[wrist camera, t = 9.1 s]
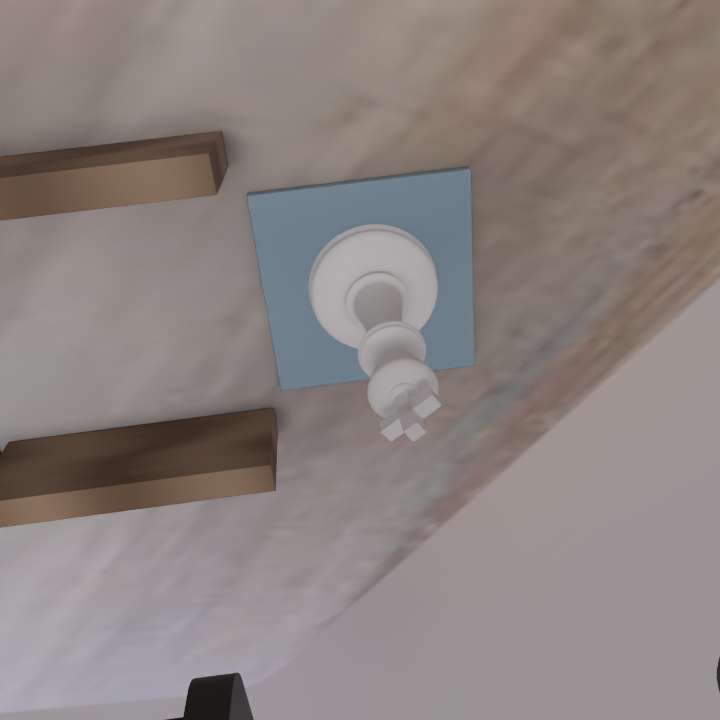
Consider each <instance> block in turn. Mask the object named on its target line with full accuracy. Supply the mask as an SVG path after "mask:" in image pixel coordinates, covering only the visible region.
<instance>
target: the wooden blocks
mask: <svg viewBox="0 0 720 720" xmlns="http://www.w3.org/2000/svg"><path fill="white" fill-rule="evenodd" d="M227 168H228V163H227V158H226V153H225V147H224V142H223V137H222V131H218V132H209V133H201V134H192V135H184V136H175V137H166V138H158V139H149V140H141V141H132V142H124V143H115V144H107V145H98V146H89V147H81V148H72V149H64V150H55V151H47V152H38V153H30V154H21V155H13V156H4V157H0V221H1V220H9V219H18V218H26V217H34V216H43V215H51V214H59V213H68V212H76V211H84V210H93V209H101V208H109V207H118V206H126V205H134V204H143V203H151V202H159V201H168V200H176V199H184V198H193V197H201V196H209V195H217V193H218V190H219V188H220V185H221V183H222V180H223V178H224V175H225V173H226V171H227ZM277 436H278V431H277V425H276V420H275V415H274V409H273V408H268V409H260V410H253V411H245V412H237V413H230V414H222V415H214V416H207V417H199V418H191V419H184V420H176V421H168V422H161V423H153V424H145V425H138V426H130V427H122V428H115V429H107V430H99V431H92V432H84V433H76V434H69V435H61V436H53V437H46V438H38V439H30V440H23V441H15V442H9V443H8V444H7V446H6V448H5V449H4V451H3V452H2V454H1V455H0V528H1V527H8V526H16V525H23V524H31V523H38V522H46V521H53V520H61V519H68V518H75V517H83V516H90V515H98V514H105V513H113V512H120V511H128V510H135V509H142V508H150V507H157V506H165V505H172V504H180V503H187V502H195V501H202V500H209V499H217V498H224V497H232V496H239V495H247V494H254V493H262V492H269V491H276V464H277Z"/></svg>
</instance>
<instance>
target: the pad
mask: <svg viewBox="0 0 720 720" xmlns="http://www.w3.org/2000/svg"><path fill="white" fill-rule="evenodd" d="M247 201H248V206H249V212H250V218H251V223H252V229H253V234H254V240H255V246H256V251H257V257H258V262H259V268H260V274H261V279H262V285H263V291H264V296H265V302H266V307H267V313H268V319H269V324H270V330H271V336H272V341H273V347H274V352H275V358H276V364H277V369H278V375H279V381H280V386H281V391H282V390H290V389H298V388H306V387H313V386H321V385H329V384H336V383H344V382H352V381H360V380H367V379H370V377H369V376H368V375H367V374H366V373H365V372H364V371H363V369H362V368H361V366H360V364H359V361H358V349H357V348H353V347H350V346H347V345H345V344H343V343H341V342H339V341H337V340H336V339H334V338H333V337H332V336H331V335H329V334H328V333H327V332H326V331H325V329H324V328H323V327H322V326H321V324H320V323H319V321H318V319H317V318H316V315H315V313H314V311H313V309H312V306H311V303H310V299H309V292H308V282H309V276H310V271H311V268H312V265H313V263H314V261H315V259H316V257H317V256H318V254H319V253H320V251H321V250H322V249H323V247H324V246H325V245H326V244H327V243H328V242H329V241H331V240H332V239H333V238H334V237H336V236H337V235H339V234H340V233H342V232H344V231H346V230H348V229H351V228H354V227H357V226H361V225H367V224H384V225H390V226H394V227H397V228H400V229H402V230H404V231H406V232H408V233H410V234H411V235H413V236H414V237H415V238H417V239H418V240H419V241H420V242H421V243H422V244H423V245H424V246H425V248H426V249H427V251H428V252H429V254H430V256H431V257H432V260H433V262H434V265H435V268H436V273H437V281H438V294H437V300H436V304H435V307H434V310H433V312H432V314H431V316H430V318H429V319H428V321H427V322H426V324H425V325H424V326H423V327H422V328H421V330H419V332H420V333H421V334H422V336H423V338H424V340H425V344H426V356H425V360H424V362H425V363H426V364H427V365H428V366H429V367H430V368H431V369H432V370H433V371H437V370H445V369H452V368H460V367H468V366H475V351H474V303H473V255H472V207H471V169H470V168H469V167H462V168H453V169H445V170H437V171H429V172H420V173H412V174H404V175H395V176H387V177H379V178H370V179H362V180H354V181H345V182H337V183H329V184H320V185H312V186H304V187H295V188H287V189H279V190H270V191H262V192H254V193H247Z"/></svg>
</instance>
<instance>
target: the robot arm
mask: <svg viewBox="0 0 720 720" xmlns="http://www.w3.org/2000/svg"><path fill="white" fill-rule="evenodd" d="M717 682H718V686H719V691H720V658H719V662H718V667H717ZM167 720H253V716H252V713H251V709H250V706H249V702H248V699H247V695H246V692H245V688H244V685H243V682H242V678H241V676H240V674H239V673H232V674H225V675H217V676H209V677H202V678H194V679H193V680H192V681H191V683H190V686H189V689H188V694H187V700H186V706H185V712H184V717H183V718H175V719H167Z"/></svg>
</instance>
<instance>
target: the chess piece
mask: <svg viewBox="0 0 720 720" xmlns="http://www.w3.org/2000/svg"><path fill="white" fill-rule="evenodd" d="M308 292H309V299H310V303H311V306H312V309H313V311H314V313H315V315H316V318H317V319H318V321H319V323H320V324H321V326H322V327H323V328H324V329H325V331H326V332H327V333H328V334H329V335H331V336H332V337H333V338H334V339H336V340H337V341H339V342H341V343H343V344H345V345H347V346H350V347H353V348H357V349H358V361H359V364H360V366H361V368H362V369H363V371H364V372H365V373H366V374H367V375H368V376H369V377H370V379H369V382H368V387H367V397H368V401H369V404H370V406H371V407H372V409H373V410H374V411H375V412H376V413H377V414H378V415H379V416H380V417H382V418H384V419H383V420H382V421H380V422H379V427H380V432H381V433H382V434H383V435H384V436H385V437H386V438H387V439H388V440H389V441H390V442H391V441H393V440H394V439H396V438H397V437H399V436H400V435H401V434H403V433H405V434H406V435H407V436H408V437H409V438H410V440H411V441H412V442H415V441H416V440H417V439H419V438H420V437H422V436H423V435H424V434H426V433H427V431H426V428H425V425H424V422H423V419H424V418H425V417H427V416H428V415H430V414H431V413H432V412H434V411H435V410H437V409H438V408H439V407H441V406H442V404H441V401H440V399H439V397H438V393H439V384H438V379H437V377H436V375H435V373H434V371H433V370H432V369H431V368H430V367H429V366H428V365H427V364H426V363H425V362H424V360H425V356H426V344H425V340H424V338H423V336H422V334H421V333H420V332H419V330H421V328H422V327H423V326H424V325H425V324H426V322H427V321H428V319H429V318H430V316H431V314H432V312H433V310H434V307H435V304H436V300H437V294H438V281H437V273H436V268H435V265H434V262H433V260H432V257H431V256H430V254H429V252H428V251H427V249H426V248H425V246H424V245H423V244H422V243H421V242H420V241H419V240H418V239H417V238H415V237H414V236H413V235H411V234H410V233H408V232H406V231H404V230H402V229H400V228H397V227H394V226H390V225H384V224H367V225H361V226H357V227H354V228H351V229H348V230H346V231H344V232H342V233H340V234H339V235H337V236H336V237H334V238H333V239H332V240H331V241H329V242H328V243H327V244H326V245H325V246H324V247H323V249H322V250H321V251H320V253H319V254H318V256H317V257H316V259H315V261H314V263H313V265H312V268H311V271H310V276H309V282H308Z"/></svg>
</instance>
